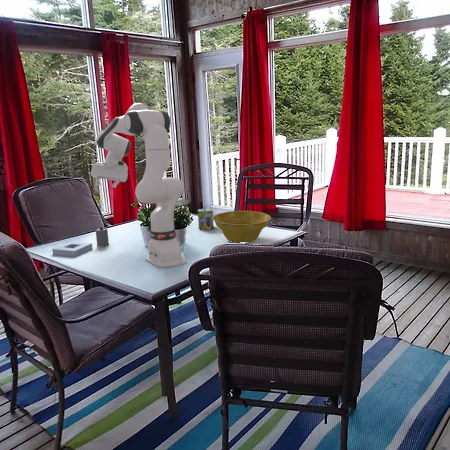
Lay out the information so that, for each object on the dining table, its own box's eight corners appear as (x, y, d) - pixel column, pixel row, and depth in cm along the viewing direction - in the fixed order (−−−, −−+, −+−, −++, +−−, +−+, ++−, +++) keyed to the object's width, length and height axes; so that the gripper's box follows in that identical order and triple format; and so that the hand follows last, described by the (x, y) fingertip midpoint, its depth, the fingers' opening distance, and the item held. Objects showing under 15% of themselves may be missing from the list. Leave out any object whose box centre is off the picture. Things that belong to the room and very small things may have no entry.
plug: (108, 244, 230) (106, 225, 227) (103, 246, 226) (102, 227, 223) (102, 243, 231) (100, 224, 228) (97, 246, 227) (95, 226, 224)
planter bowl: (282, 243, 224) (282, 218, 221) (229, 252, 210) (228, 226, 207) (252, 230, 252) (252, 208, 249) (203, 237, 238) (202, 214, 235)
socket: (92, 248, 222) (91, 243, 222) (74, 256, 210) (74, 251, 209) (71, 246, 227) (70, 241, 227) (52, 254, 215) (52, 248, 214)
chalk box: (213, 229, 256) (212, 205, 253) (198, 230, 255) (197, 206, 252) (212, 225, 265) (211, 202, 262) (198, 226, 264) (197, 203, 261)
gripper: (92, 158, 231) (85, 180, 226) (128, 163, 230) (121, 185, 225) (96, 164, 237) (89, 185, 232) (130, 169, 235) (124, 191, 231)
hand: (105, 185), depth 229 cm, fingers open, 8 cm apart
